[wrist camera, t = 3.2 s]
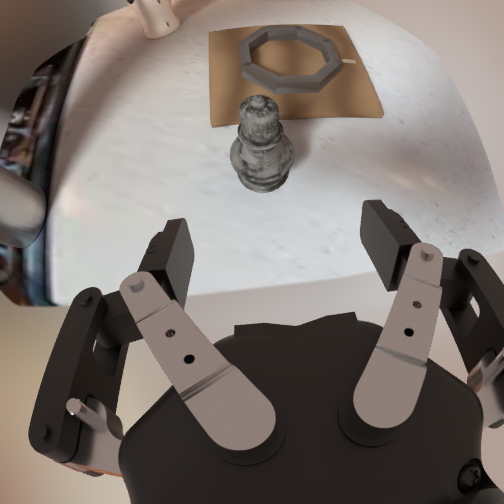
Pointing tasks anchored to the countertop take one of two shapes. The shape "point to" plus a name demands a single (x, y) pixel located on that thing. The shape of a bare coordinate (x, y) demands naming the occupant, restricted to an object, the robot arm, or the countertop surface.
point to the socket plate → (289, 73)
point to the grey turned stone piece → (261, 146)
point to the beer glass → (155, 17)
